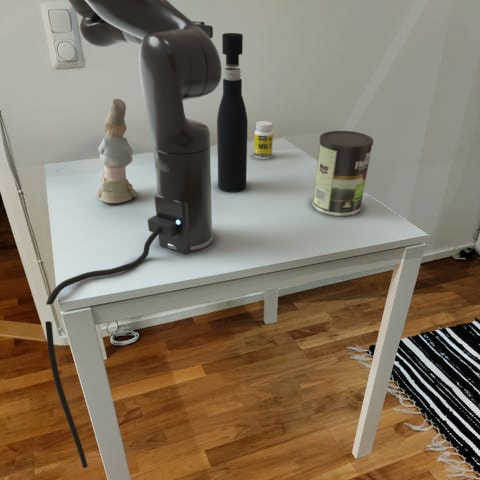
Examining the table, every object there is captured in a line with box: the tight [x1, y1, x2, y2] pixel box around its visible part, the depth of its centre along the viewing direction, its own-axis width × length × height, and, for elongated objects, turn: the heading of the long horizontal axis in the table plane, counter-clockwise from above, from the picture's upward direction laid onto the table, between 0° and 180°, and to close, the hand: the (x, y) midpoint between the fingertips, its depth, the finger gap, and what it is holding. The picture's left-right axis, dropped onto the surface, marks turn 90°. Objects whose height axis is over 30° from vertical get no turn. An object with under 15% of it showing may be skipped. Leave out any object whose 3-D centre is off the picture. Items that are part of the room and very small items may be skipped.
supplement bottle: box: [253, 120, 274, 160], centre depth 121 cm, size 5×5×8 cm
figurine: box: [97, 98, 138, 204], centre depth 96 cm, size 9×8×20 cm
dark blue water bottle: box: [216, 32, 249, 193], centre depth 98 cm, size 6×6×30 cm
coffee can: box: [311, 130, 374, 217], centre depth 95 cm, size 10×10×14 cm
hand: (197, 34), depth 94 cm, fingers open, 8 cm apart
